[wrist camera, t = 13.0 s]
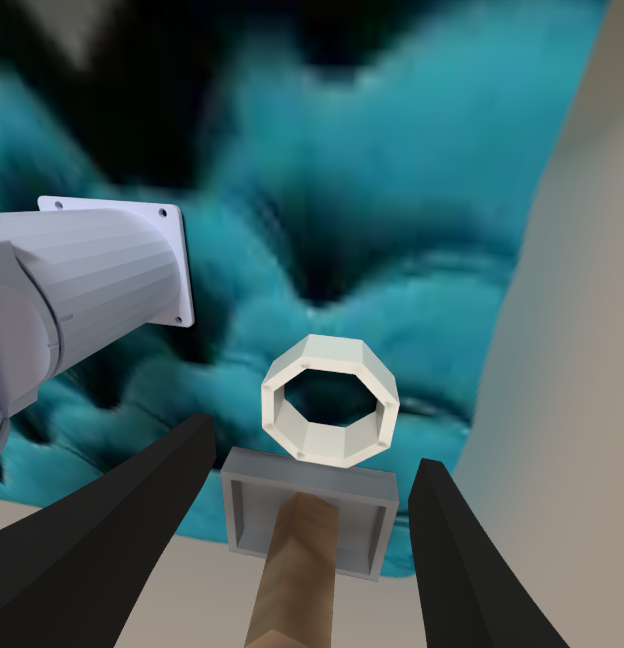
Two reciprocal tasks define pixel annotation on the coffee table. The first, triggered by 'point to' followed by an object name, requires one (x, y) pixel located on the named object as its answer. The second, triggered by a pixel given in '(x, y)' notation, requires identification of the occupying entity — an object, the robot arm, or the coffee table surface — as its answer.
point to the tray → (322, 481)
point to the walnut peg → (297, 578)
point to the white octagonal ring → (329, 440)
